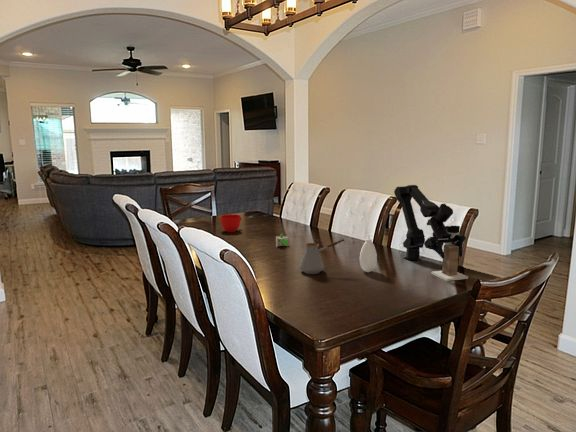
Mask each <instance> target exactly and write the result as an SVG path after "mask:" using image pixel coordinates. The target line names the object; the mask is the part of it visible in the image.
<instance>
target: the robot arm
mask: <svg viewBox="0 0 576 432" xmlns="http://www.w3.org/2000/svg"><path fill="white" fill-rule="evenodd" d="M393 193H394V196H395V199H396V200H397V201H398V202H399V204H400V205H401V208H402V212H403V216H404V217H403V218H404V221H405V223H406V228H407V232H406V235H405V236H406V237H405V238H406V239H404V241H403V242H402V245H403V246H402V247H404V248H406V251H405V254H406V255H405V256H403V259H405V260H408V261H410V262H416V261H422V258H420V257H421V256H420V254H421V253H420V251H421V250H420V249H421V248H424V247H425V249H428V250H433V251H434V252H435V253H437V255H438V256H439V257H441V258H442V260H443V259H444V258H445V256H444V253H443V251H444V248H443V247H444V245H445V243H451V244H453V245H456V246H459V254H458V257H460V258H462V257H463V244H464V242H465V241H466V240H467V238H466V236H465V234H459V235H455V237H454V238H450V237H451V236H452V235H451V234H449V233H448V231H447V229H448V227H447V226H448V225H445V224H444V223H446V222H448V220H449V219H450V218H451V216H452V215H453V214H454V210H453V208H451V207H450V206H449V205H447V204H446V203H441V204H440V205H438V204H436V202H433V201H431V200H429V199H428V197H426V195H425V194H424V193H423V192H422V191H421V189H420V188H419V186H418V185H417V184H408V185H406V186H405V185H404V186H396V187H395V189H394V191H393ZM412 199H413V200H414V201H415V202H416V203H417V205H418V206H419V208H420V213H421V214H422V216H423V217H424V218H430V219H427V222H426V226H430V227H431V230H432V233H431V234H432V236H428V238H427V239H426V238H425V237H426V236H425V234H424V230H423V229H422V228H421V229H420V228H419V227H418V223H417V219H416V216H415V212H414V208H413V204H412V202H411V201H412Z"/></svg>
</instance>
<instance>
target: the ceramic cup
mask: <svg viewBox="0 0 576 432" xmlns="http://www.w3.org/2000/svg"><path fill="white" fill-rule="evenodd" d="M241 221H242V216H241V215H240V214H223V215H220V224H221V227H222V228H223V230H224V231H225V232H226V233H236V232H237V231H238V229H239V228H240V226H241Z"/></svg>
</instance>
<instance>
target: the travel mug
mask: <svg viewBox="0 0 576 432" xmlns="http://www.w3.org/2000/svg"><path fill="white" fill-rule="evenodd" d="M446 226H447V227H448V229H447V231H448V233H449V234H451V235H452V236H451V237H450V238H454V237H455V235H460V228H461V226H460V225H446ZM450 244H451V243H444V245H450Z"/></svg>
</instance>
